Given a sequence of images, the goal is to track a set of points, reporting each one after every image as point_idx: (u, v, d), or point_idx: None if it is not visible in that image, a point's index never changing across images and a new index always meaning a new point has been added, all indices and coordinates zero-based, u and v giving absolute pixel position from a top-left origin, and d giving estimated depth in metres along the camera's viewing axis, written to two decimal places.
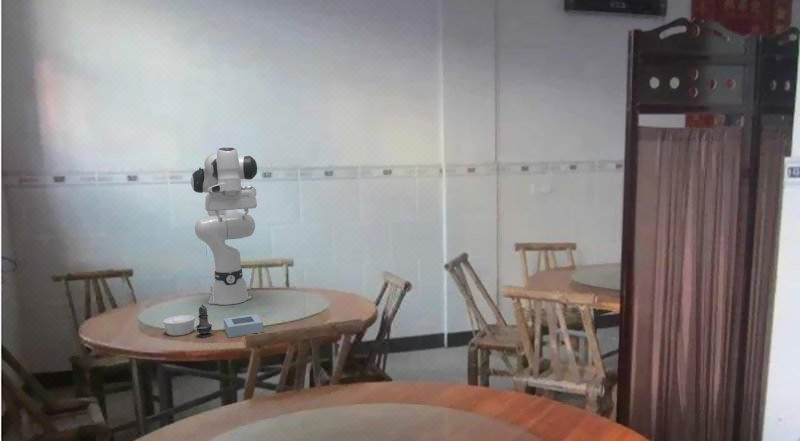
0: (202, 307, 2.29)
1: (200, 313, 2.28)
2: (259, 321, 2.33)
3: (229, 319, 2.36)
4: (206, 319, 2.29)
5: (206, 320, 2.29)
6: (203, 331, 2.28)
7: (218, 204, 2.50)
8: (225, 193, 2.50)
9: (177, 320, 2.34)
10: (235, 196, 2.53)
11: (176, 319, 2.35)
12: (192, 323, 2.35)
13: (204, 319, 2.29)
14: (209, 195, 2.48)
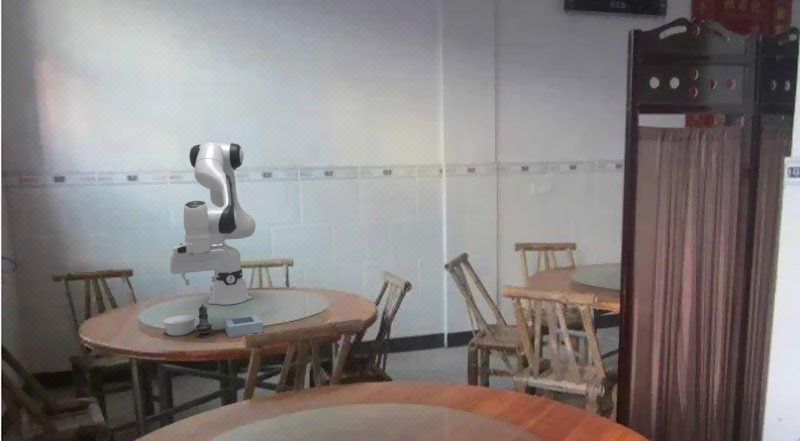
0: (202, 307, 2.29)
1: (200, 313, 2.28)
2: (259, 321, 2.33)
3: (229, 319, 2.36)
4: (206, 319, 2.29)
5: (206, 320, 2.29)
6: (203, 331, 2.28)
7: (184, 266, 2.23)
8: (192, 254, 2.24)
9: (177, 320, 2.34)
10: (204, 256, 2.26)
11: (176, 319, 2.35)
12: (192, 323, 2.35)
13: (204, 319, 2.29)
14: (174, 257, 2.21)
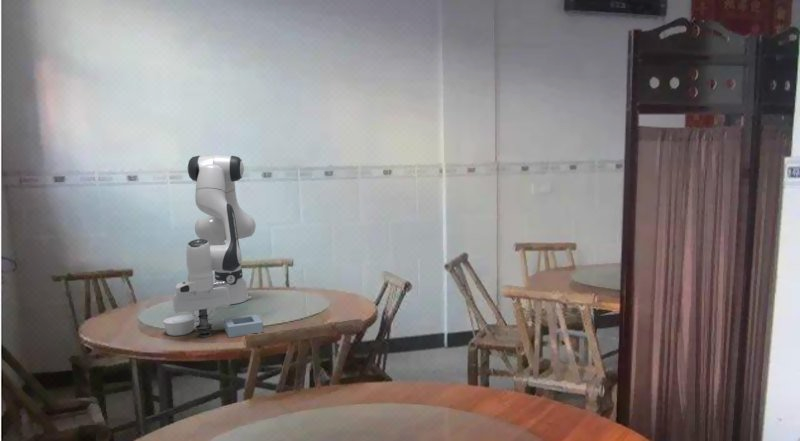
0: None
1: (200, 313, 2.28)
2: (259, 321, 2.33)
3: (229, 319, 2.36)
4: (206, 319, 2.29)
5: (206, 320, 2.29)
6: (203, 331, 2.28)
7: (187, 305, 2.25)
8: (195, 292, 2.26)
9: (177, 320, 2.34)
10: (207, 294, 2.28)
11: (176, 319, 2.35)
12: (192, 323, 2.35)
13: (204, 319, 2.29)
14: (177, 296, 2.23)
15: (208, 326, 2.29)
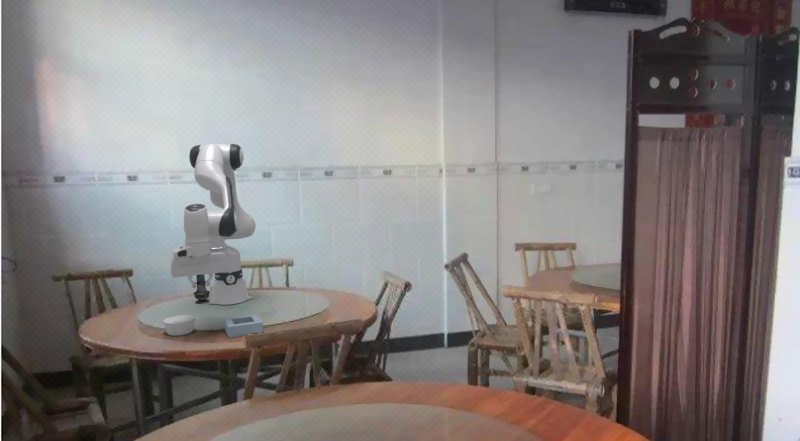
0: None
1: (198, 279, 2.27)
2: (259, 321, 2.33)
3: (229, 319, 2.36)
4: (204, 285, 2.28)
5: (204, 286, 2.28)
6: (200, 297, 2.26)
7: (184, 270, 2.24)
8: (193, 257, 2.24)
9: (177, 320, 2.34)
10: (205, 260, 2.26)
11: (176, 319, 2.35)
12: (192, 323, 2.35)
13: (202, 285, 2.27)
14: (174, 260, 2.21)
15: (206, 292, 2.27)
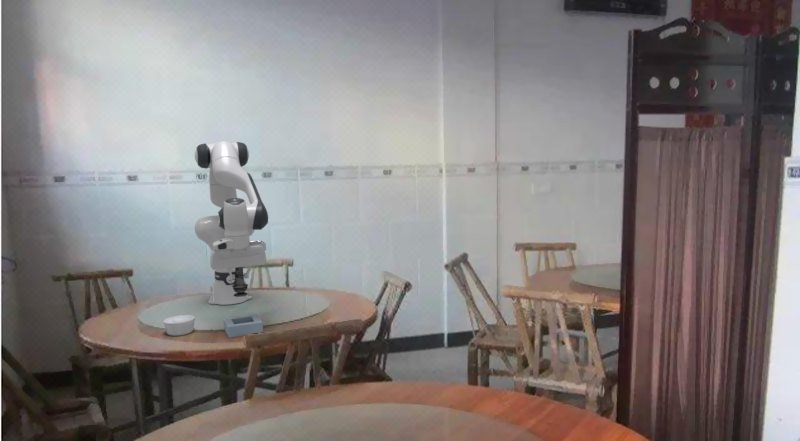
0: None
1: (237, 272, 2.31)
2: (259, 321, 2.33)
3: (229, 319, 2.36)
4: (243, 278, 2.32)
5: (242, 279, 2.32)
6: (239, 290, 2.31)
7: (224, 262, 2.28)
8: (232, 250, 2.28)
9: (177, 320, 2.34)
10: (243, 252, 2.31)
11: (176, 319, 2.35)
12: (192, 323, 2.35)
13: (240, 278, 2.31)
14: (215, 253, 2.26)
15: (244, 285, 2.32)
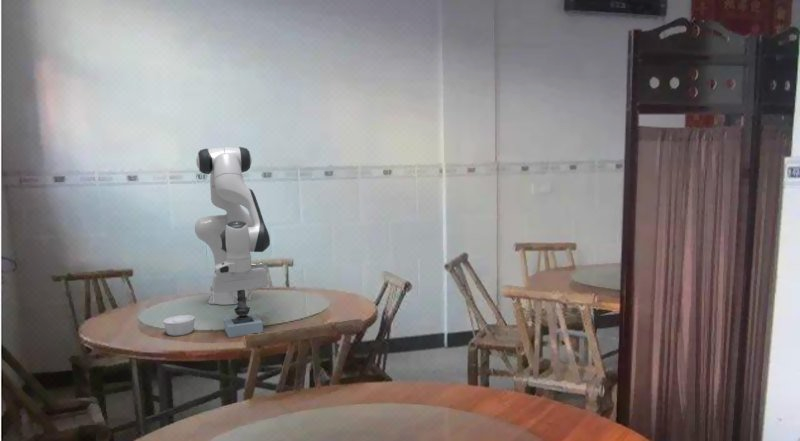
0: (241, 290, 2.32)
1: (239, 296, 2.32)
2: (259, 321, 2.33)
3: (229, 319, 2.36)
4: (245, 302, 2.33)
5: (244, 303, 2.33)
6: (242, 313, 2.32)
7: (226, 285, 2.29)
8: (234, 273, 2.29)
9: (177, 320, 2.34)
10: (245, 275, 2.32)
11: (176, 319, 2.35)
12: (192, 323, 2.35)
13: (243, 301, 2.32)
14: (217, 276, 2.27)
15: (246, 309, 2.33)
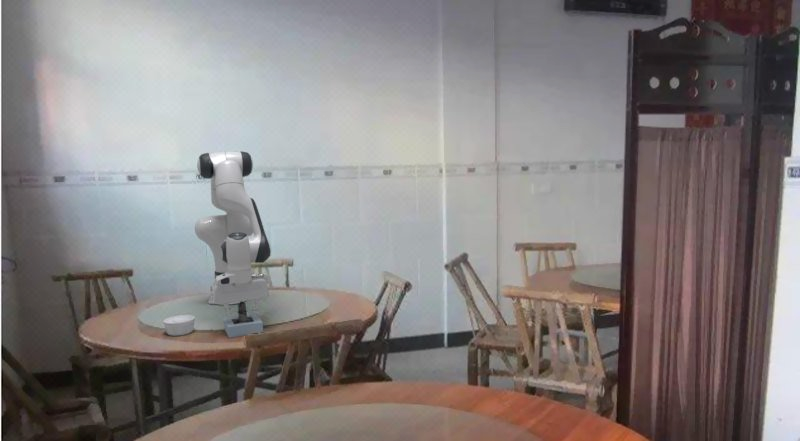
0: (241, 303, 2.33)
1: (240, 309, 2.33)
2: (259, 321, 2.33)
3: (229, 319, 2.36)
4: (245, 314, 2.34)
5: (245, 315, 2.34)
6: None
7: (227, 296, 2.30)
8: (235, 284, 2.30)
9: (177, 320, 2.34)
10: (246, 286, 2.32)
11: (176, 319, 2.35)
12: (192, 323, 2.35)
13: (243, 314, 2.33)
14: (218, 288, 2.27)
15: (247, 321, 2.34)
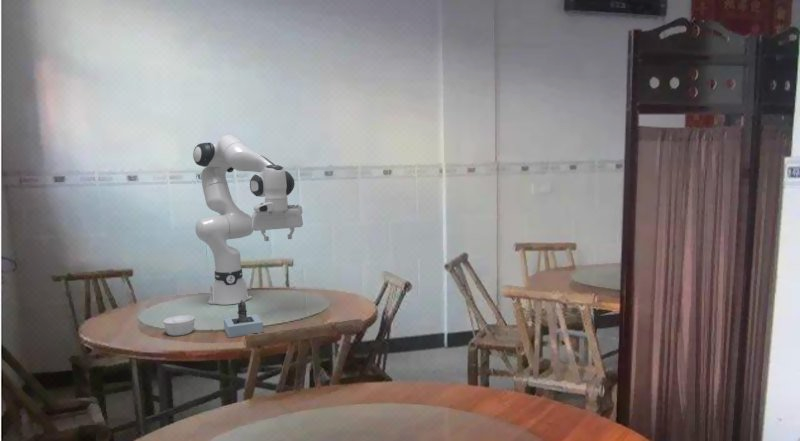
0: (241, 303, 2.33)
1: (240, 309, 2.33)
2: (259, 321, 2.33)
3: (229, 319, 2.36)
4: (245, 314, 2.34)
5: (245, 315, 2.34)
6: None
7: (265, 224, 2.46)
8: (272, 212, 2.47)
9: (177, 320, 2.34)
10: (282, 215, 2.49)
11: (177, 319, 2.35)
12: (192, 323, 2.35)
13: (243, 314, 2.33)
14: (256, 215, 2.44)
15: (247, 321, 2.34)
